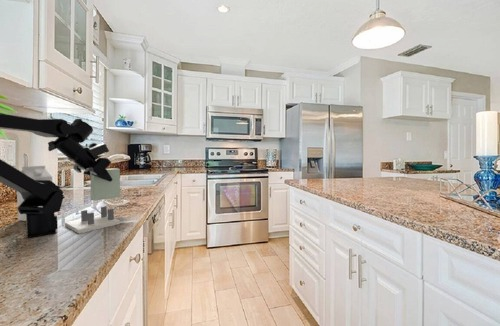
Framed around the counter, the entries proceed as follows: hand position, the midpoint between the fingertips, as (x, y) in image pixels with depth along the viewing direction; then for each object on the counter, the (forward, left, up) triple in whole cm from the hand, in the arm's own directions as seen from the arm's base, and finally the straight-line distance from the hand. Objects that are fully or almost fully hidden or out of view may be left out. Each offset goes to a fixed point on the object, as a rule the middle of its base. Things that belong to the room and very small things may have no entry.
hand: (109, 180), depth 93 cm
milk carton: (-21, +12, -13) cm, 28 cm away
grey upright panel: (-1, 0, -7) cm, 7 cm away
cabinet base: (-7, -10, -13) cm, 18 cm away
